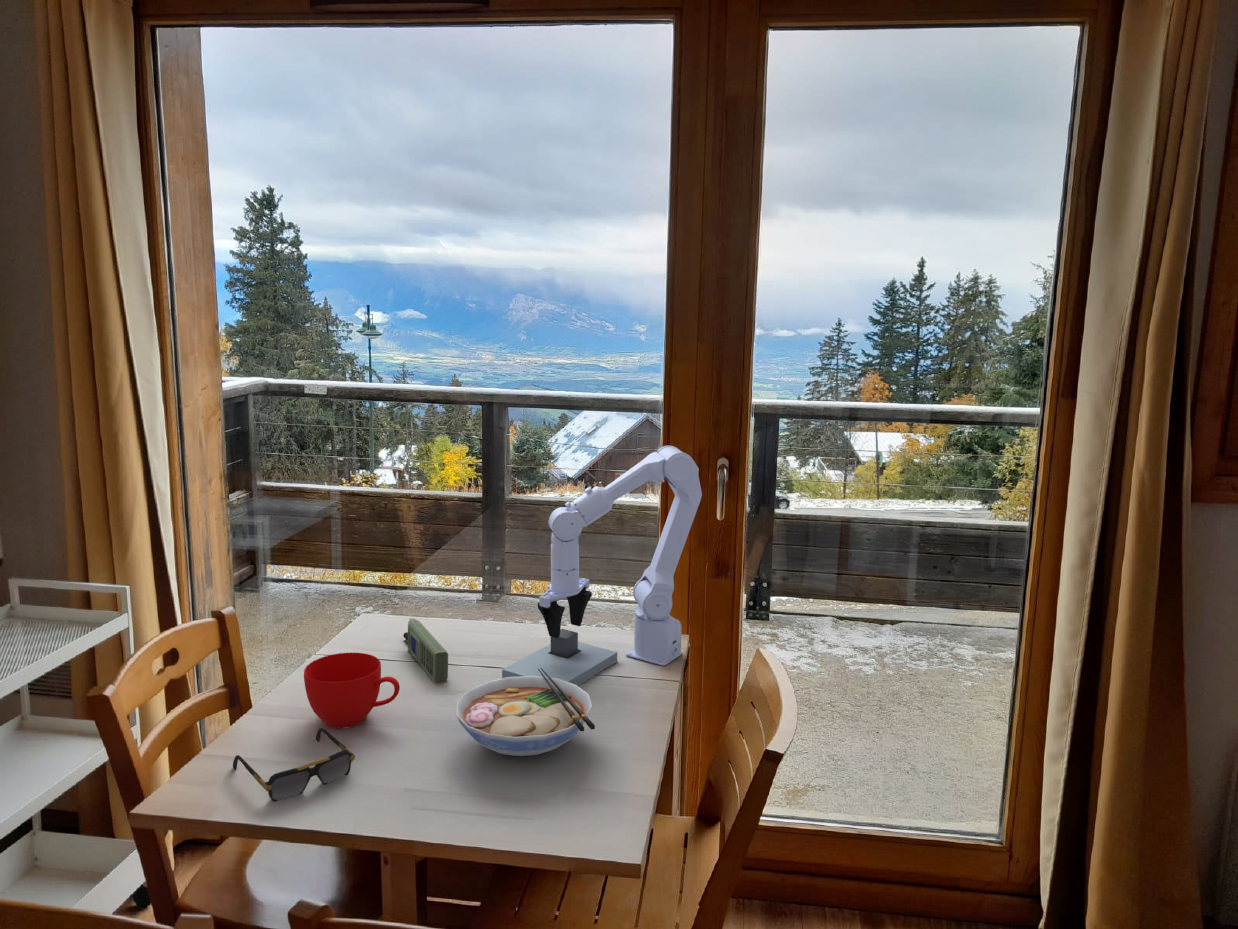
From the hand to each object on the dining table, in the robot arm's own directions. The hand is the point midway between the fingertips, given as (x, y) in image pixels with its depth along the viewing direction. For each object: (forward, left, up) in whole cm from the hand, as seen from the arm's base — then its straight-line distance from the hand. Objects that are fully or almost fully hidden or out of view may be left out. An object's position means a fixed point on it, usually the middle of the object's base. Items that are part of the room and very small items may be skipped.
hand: (565, 630), depth 184 cm
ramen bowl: (-15, +32, -7) cm, 36 cm away
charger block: (0, 0, -7) cm, 7 cm away
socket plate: (-2, +4, -7) cm, 8 cm away
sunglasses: (+10, +59, -7) cm, 60 cm away
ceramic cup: (+15, +42, -7) cm, 45 cm away
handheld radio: (+25, +16, -7) cm, 30 cm away
